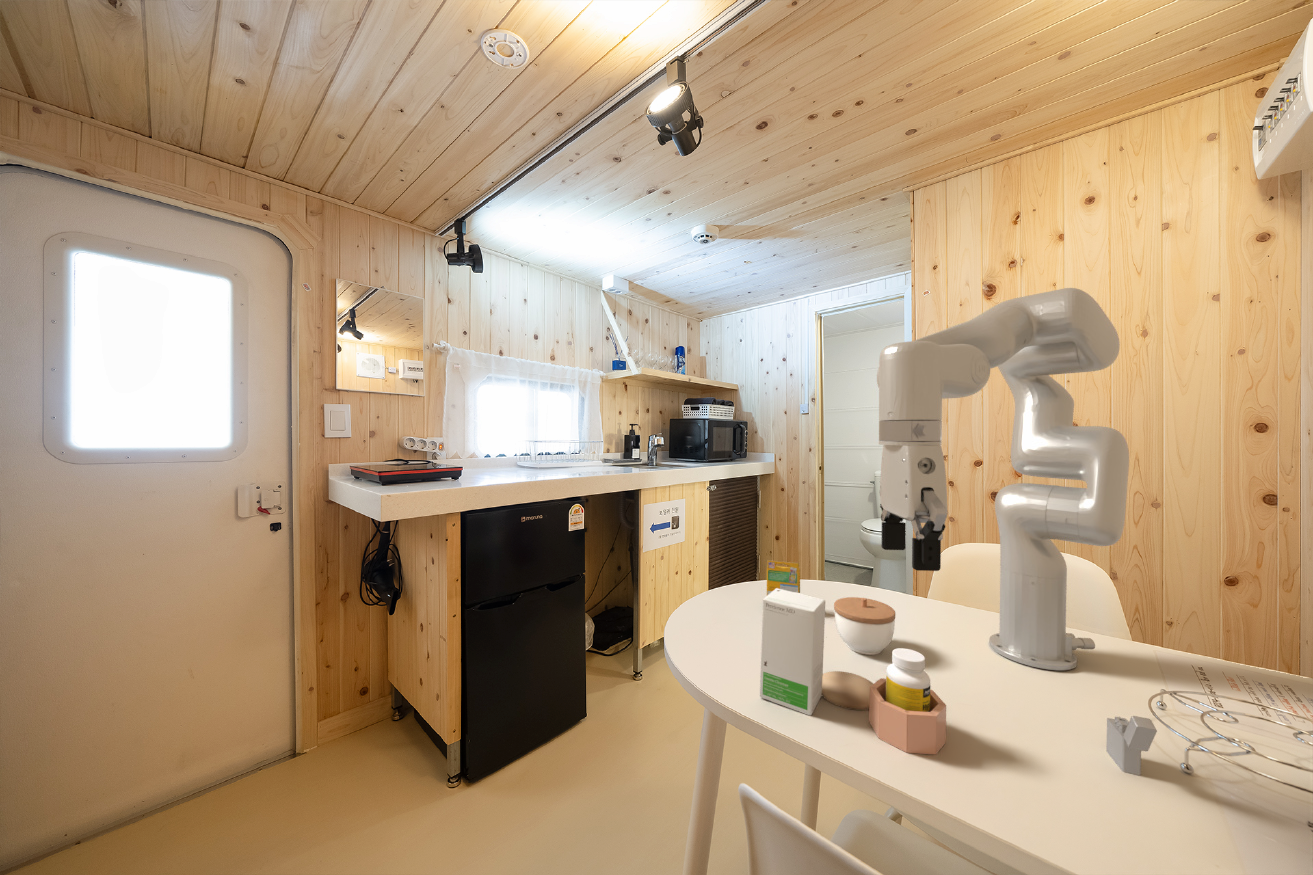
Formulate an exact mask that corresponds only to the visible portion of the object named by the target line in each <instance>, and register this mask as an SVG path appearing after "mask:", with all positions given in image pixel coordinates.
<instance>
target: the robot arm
mask: <svg viewBox="0 0 1313 875" xmlns="http://www.w3.org/2000/svg"><path fill="white" fill-rule="evenodd" d="M1120 344H1121V342H1120V338H1119V335H1118V332H1117V329H1116V327H1115V326H1114V324H1113V323H1112V321H1111V320H1110V318H1109V317H1108V315H1107V314H1106V313H1105V311H1104V310H1103V308H1102V307H1101V305H1100V304H1099V303H1098V302H1097V301H1096V299H1095V298H1094V297H1093V296H1091V295H1090V294H1089V293H1088V292H1085V291H1084V290H1083V289H1079V288H1076V287H1064V288H1059V289H1056V290H1051V291H1045V292H1040V293H1035V294H1031V295H1030V294H1029V295H1025V296H1024V295H1023V296H1019V297H1015V298H1012V299H1011V298H1010V299H1008V300H1005V301H1001V302H1000V303H997V304H996V305H994V306H992V307H990V308H989V309H987V310H985V311H984V312H982V313H980V314H979V315H977V316H975V317H973V318H971V319H970V320H968V321H964V322H961V323H959V324H955V325H952V326H949V327H948V328H946V329H943V330H940V331H937V332H935V333H932V334H929V335H926V336H923V337H921V338H917V339H915V340H910V341H904V342H896V343H892V344H889V345H887V346H885V347H884V348H883V349H882V350H881V352H880V355H879V362H878V363H879V364H878V365H879V366H878V369H877V373H876V382H877V384H876V385H877V386H878V445H882V452H881V453H882V454H881V464H880V465H881V466H880V479H879V481H880V484H879V487H880V488H879V496H880V499H879V500H880V505H879V508H881V514H880V520H881V549H882V550H886V551H905V549H906V543H907V542H906V540H907V538H906V536H907V534H906V530H907V528H906V524H907V523H906V522H904V520H906V521H908V522H910V523H911V526H912V529H913V532H914V535H915V537H912V538H911V540H912V541H911V542H912V545H911V546H912V547H911V549H912V550H911V567H912V568H913V569H914V570H915V571H920V572H921V571H922V572H923V571H927V572H930V571H931V572H938V571H940V570H941V567H942V566H941V564H942V563H941V561H942V560H941V559H942V558H941V557H942V554H941V553H942V549H941V547H942V546H941V545H942V540H943V539H944V533H943V532H944V531H945V528H946V520H947V517H948V513H949V512H948V489H947V475H946V474H947V473H946V467H945V466H946V465H945V458H944V453H943V448H942V446H943V445H942V444H943V441H942V440H943V438H942V437H943V434H942V433H943V431H942V430H943V429H942V428H943V420H942V419H943V400H945V399H959V398H965V397H970V396H972V395H975V394H977V393H979V392H980V391H981V390H982V389H983V388H984V387H985V386H986V384H987V383H988V381H989V379H990V375H991V369H994V368H997V369H998V370H999V373H1001V376H1002V377H1003V379H1004V381H1005V382H1006V384H1007V386H1008V388H1009V390H1010V392H1011V394H1012V397H1013V400H1014V418H1013V426H1012V435H1011V436H1012V437H1011V444H1010V445H1011V447H1010V463H1011V466H1012V467H1011V468H1013V470H1014V471H1016V472H1017V473H1019V474H1021V475H1024V476H1027V477H1028V476H1029V477H1036V478H1047V479H1059V480H1060V479H1061V480H1074V481H1082V482H1084V483H1085V484H1086V486H1087V487H1076V486H1075V487H1073V486H1064V485H1063V486H1062V485H1057V484H1056V485H1054V484H1042V483H1026V482H1022V483H1012V484H1008V485H1006V486H1004V487H1002V488H1001V489H999V491H998V492H997V494H996V496H995V499H994V512H995V517H996V520H997V521H996V522H997V526H998V533H999V534H998V535H999V545H1000V548H999V550H1000V553H999V554H1000V559H999V561H1000V563H999V566H1000V569H999V572H1000V573H999V577H1000V578H999V580H1000V581H999V584H1000V585H999V632H998V633H994V634H992V635H990V636H989V638H988V640H989V642H988V644H989V647H991V649H992V650H993V651H994V652H995V653H997V654H998V655H1000V656H1002V657H1005V659H1006V658H1007V659H1009V660H1011V661H1013V662H1016V663H1019V664H1021V665H1026V666H1029V667H1033V668H1037V669H1041V670H1042V669H1043V670H1047V671H1049V670H1050V671H1069V670H1072V669H1074V668H1075V669H1076V667H1077V665H1078V658H1077V656H1076V655H1075V653H1073V651H1076V650H1077V649H1081V650H1095V648H1096V644H1095V641H1094V640H1093V639H1092V638H1090V637H1076V636H1075V635H1074V634H1073V633H1071V632H1067V630H1066V629H1067V627H1066V626H1067V582H1068V581H1067V576H1068V574H1067V573H1068V570H1067V569H1068V567H1067V562H1066V560H1065V557H1064V555H1063V554H1062V553H1061V551H1060V549H1059V548H1058V547H1057V546H1056V544H1055V543H1054V541H1052V540H1058V541H1065V542H1070V543H1075V544H1083V545H1089V546H1096V547H1097V546H1098V547H1109V546H1113V545H1115V544H1117V543H1118V542H1119V540H1120V539H1121V538H1122V536H1123V532H1124V527H1125V521H1126V511H1127V510H1126V508H1127V495H1128V484H1129V483H1128V482H1129V470H1130V451H1129V445H1128V443H1127V440H1126V438H1125V436H1124V435H1123V434H1122V432H1121V431H1119V430H1117V429H1115V428H1112V427H1109V426H1102V425H1101V426H1099V425H1097V426H1096V425H1093V426H1091V425H1090V426H1089V425H1080V426H1079V425H1074V424H1073V421H1074V408H1075V401H1074V398H1073V396H1072V395H1071V394H1070V393H1069V391H1068V390H1067V389H1066V388H1065V387H1064V386H1063V385H1061V384H1060V382H1058V381H1057V380H1055V379H1054V378H1053V377H1051V376H1052V375H1065V374H1076V373H1089V372H1091V373H1092V372H1096V371H1102V370H1104V369H1106V368H1108V367H1110V366H1112V365H1113V364H1114V363H1115V361H1116V360H1117V358H1118V356H1119V353H1120V349H1121V348H1120V346H1121V345H1120ZM922 524H924V525H923V526H922Z"/></svg>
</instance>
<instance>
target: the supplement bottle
mask: <svg viewBox="0 0 1313 875" xmlns="http://www.w3.org/2000/svg"><path fill="white" fill-rule="evenodd" d="M891 653H892V654H891V655H892V656H891V661H892V663H890V664H889V665H888V666H887V668H886V672H885V679H886V702H888V703H891V704H893V705H895V706H897V707H900V708H902V709H904V710H906V711H920V712H930V689H931V678H930V675H929V674H928V673H927V672H926V671H925V669H926V657H925V656H924V655H923V654H922V653H920V652H919V651H916V650H914V649H910V648H903V647H901V648H899V647H898V648H897V647H896V648H895V649H893V650H892V652H891Z"/></svg>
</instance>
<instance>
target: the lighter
mask: <svg viewBox="0 0 1313 875" xmlns="http://www.w3.org/2000/svg"><path fill="white" fill-rule="evenodd" d="M1157 732H1158V730H1157V728H1156V726H1155V724H1154V722H1153V721H1152V719H1151V718H1147V717H1142V716H1138V715H1132V716H1131V717H1130V718H1129V720H1128V719H1127V718H1124V717H1121V716H1114V718H1111V717H1110V718H1109V717H1107V718H1106V748H1105V749H1106V752H1107V754H1108V755H1109V757H1111V759H1112V760H1113V761H1114V763H1115V764H1116V765H1117V766H1118V768H1119V769H1120V770H1121V772H1124V773H1125V774H1126V773H1127V774H1131V775H1136V776H1138V777H1139V776H1141V772H1142V770H1141V769H1142V765H1141V764H1142V752H1149V750H1150V747H1151V746H1152V743H1153V741H1154V739H1155V736H1156V735H1157Z"/></svg>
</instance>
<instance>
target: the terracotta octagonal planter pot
mask: <svg viewBox="0 0 1313 875" xmlns="http://www.w3.org/2000/svg"><path fill="white" fill-rule="evenodd" d="M868 710H869V711H868V713H869V714H868V715H869V716H868V717H869V718H868V722H869V724H870V725H871V727H872V729H873V731H874V733H875V734H876V736H877V737H878V739H880V741H883V742H885V743H887V744H889V745H891V746H893V747H895V748H896V749H899V750H901V751H902V752H905V753H906V754H921V755H923V754H924V755H934V756H935V755H937V754H938V753H939V751H940V750H941V749H942V748H943V746H944V745H945V744H946V743H947V704H946V703H945V702H944V701H943V700H942V698H941V697H940V696H939V695H938V694H937V693H936V692H935V691H934V690H933V689H931V688H930V712H920V711H906V710H904V709H902V708H900V707H897V706H895V705H893V704H891V703H888V702H886V678H884V677H883V678H881V677H880V678H879V679H878V680H876V681H875V682H874V683H873V685H871V686H870V688H869V709H868Z"/></svg>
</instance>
